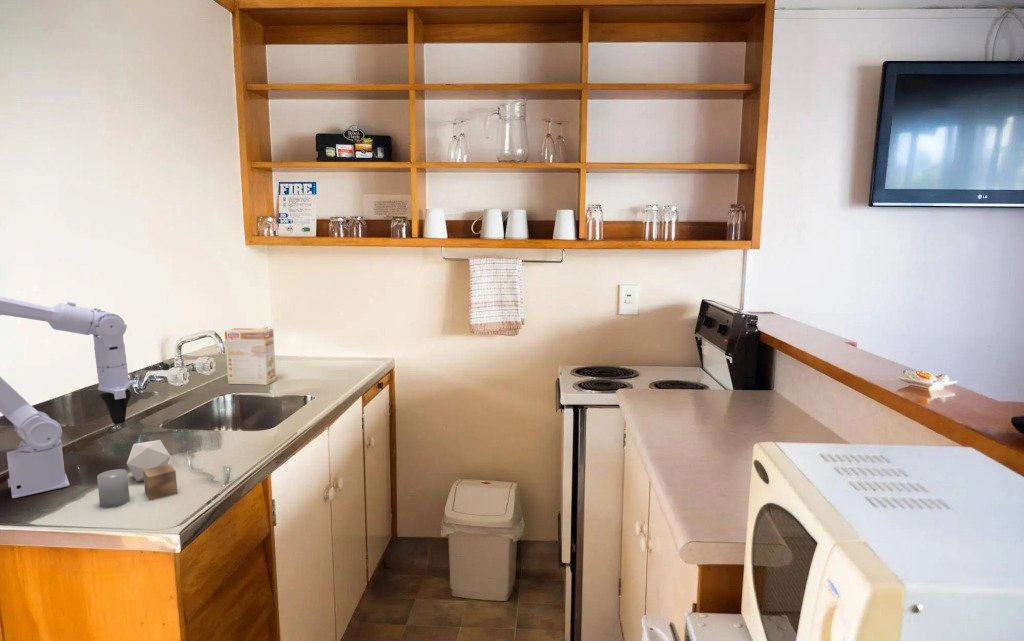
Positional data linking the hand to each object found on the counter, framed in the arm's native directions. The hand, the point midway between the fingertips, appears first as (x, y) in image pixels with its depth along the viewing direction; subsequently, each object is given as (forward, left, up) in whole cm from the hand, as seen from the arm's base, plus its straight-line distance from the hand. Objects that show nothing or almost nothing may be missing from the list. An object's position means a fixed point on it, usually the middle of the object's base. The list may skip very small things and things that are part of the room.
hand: (118, 422), depth 138 cm
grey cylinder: (-5, -21, -11) cm, 24 cm away
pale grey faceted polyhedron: (+3, -11, -11) cm, 16 cm away
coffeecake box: (+49, +63, -11) cm, 81 cm away
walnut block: (+3, -22, -11) cm, 25 cm away
